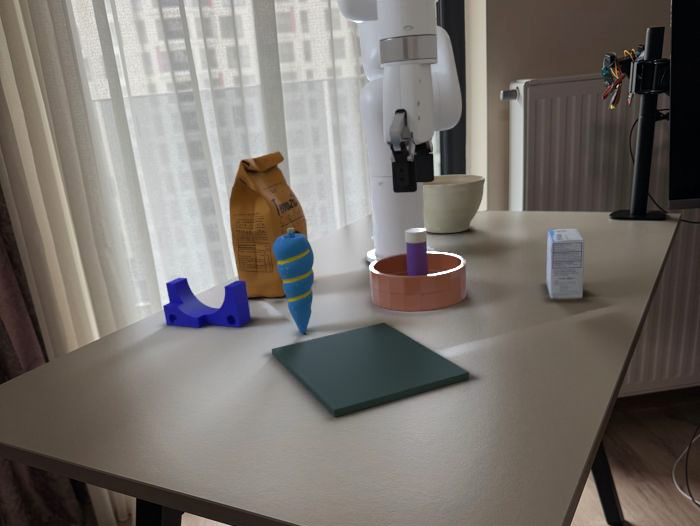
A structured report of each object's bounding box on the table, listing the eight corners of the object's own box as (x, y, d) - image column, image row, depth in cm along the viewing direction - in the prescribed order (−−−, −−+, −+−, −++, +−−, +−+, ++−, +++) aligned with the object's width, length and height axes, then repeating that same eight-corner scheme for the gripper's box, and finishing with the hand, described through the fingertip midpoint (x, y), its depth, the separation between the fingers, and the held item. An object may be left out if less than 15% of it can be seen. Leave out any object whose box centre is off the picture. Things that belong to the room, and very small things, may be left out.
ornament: (292, 342, 85) (278, 229, 79) (278, 332, 89) (263, 224, 84) (327, 334, 87) (316, 222, 82) (312, 324, 91) (300, 217, 86)
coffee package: (322, 282, 111) (309, 148, 103) (282, 304, 101) (264, 158, 93) (274, 278, 116) (258, 151, 108) (232, 299, 106) (210, 160, 98)
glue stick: (404, 295, 98) (401, 230, 95) (422, 291, 100) (419, 226, 96) (414, 300, 96) (411, 233, 92) (432, 296, 97) (430, 230, 93)
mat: (272, 354, 82) (271, 348, 81) (384, 327, 87) (384, 322, 87) (334, 417, 65) (333, 410, 64) (469, 378, 70) (469, 372, 70)
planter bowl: (498, 230, 137) (498, 178, 133) (427, 241, 133) (425, 187, 129) (464, 219, 151) (464, 171, 147) (400, 228, 147) (397, 179, 143)
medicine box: (582, 301, 91) (585, 240, 88) (549, 301, 92) (551, 241, 89) (576, 284, 98) (578, 227, 95) (545, 285, 99) (547, 229, 96)
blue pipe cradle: (166, 324, 96) (159, 286, 94) (185, 315, 100) (178, 277, 98) (233, 330, 91) (227, 290, 89) (251, 320, 95) (245, 281, 93)
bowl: (356, 297, 101) (353, 262, 99) (434, 280, 107) (433, 247, 104) (400, 321, 89) (398, 283, 87) (485, 301, 94) (485, 264, 92)
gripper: (399, 58, 94) (405, 179, 100) (359, 55, 79) (370, 197, 85) (450, 53, 91) (453, 177, 97) (419, 48, 76) (425, 195, 83)
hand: (414, 186), depth 91 cm, fingers open, 9 cm apart
